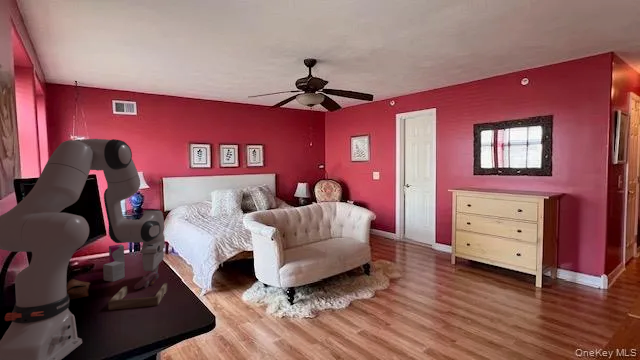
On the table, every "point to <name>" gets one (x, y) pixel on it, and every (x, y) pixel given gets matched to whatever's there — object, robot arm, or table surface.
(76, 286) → the sunglasses case
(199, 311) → the table surface
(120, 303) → the birch dock
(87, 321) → the table surface
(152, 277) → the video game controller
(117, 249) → the supplement box
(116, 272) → the product box
